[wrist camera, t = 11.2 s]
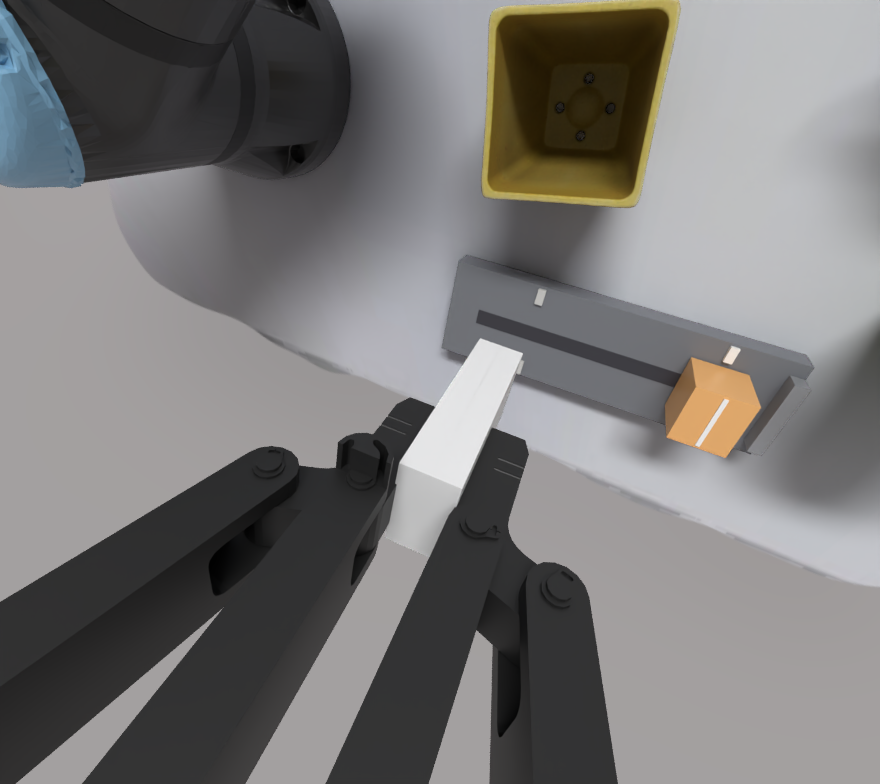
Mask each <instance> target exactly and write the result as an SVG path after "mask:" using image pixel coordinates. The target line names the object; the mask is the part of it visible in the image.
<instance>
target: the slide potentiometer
mask: <svg viewBox="0 0 880 784" xmlns="http://www.w3.org/2000/svg"><path fill="white" fill-rule="evenodd" d="M480 338H481V339H484V340H487V341H489V342H492V343H495V344H498V345H501V346H504V347H506V348H509V349H512V350H515V351H518V352H521V353H523V355H522V358H521V361H520V364H519V367H518V370H517V373H516V374H519V375H522V376H525V377H527V378H530V379H533V380H536V381H539V382H542V383H545V384H548V385H551V386H554V387H557V388H560V389H562V390H565V391H568V392H571V393H574V394H577V395H580V396H583V397H586V398H589V399H592V400H595V401H597V402H600V403H603V404H606V405H609V406H612V407H615V408H618V409H621V410H624V411H627V412H629V413H632V414H635V415H638V416H641V417H644V418H647V419H650V420H653V421H656V422H659V423H662V424H664V425H666V420H665V404H666V402H667V400H668V398H669V396H670V395H671V393H672V391H673V389H674V387H675V386H676V384H677V382H678V380H679V378H680V377H681V375H682V373H683V371H684V369H685V367H686V366H687V364H688V362H689V360H690V358H691V357H693V358H696V359H699V360H702V361H705V362H709V363H712V364H715V365H718V366H722V367H725V368H728V369H731V370H734V371H738V372H741V373H744V374H747V375H749V376H750V379H751V381H752V384H753V387H754V390H755V392H756V395H757V398H758V401H759V403H760V406H761V409H760V410H759V411H758V413H757V414H756V416H755V417H754V418H753V420H752V421H751V423H750V424H749V426H748V427H747V428H746V430H745V431H744V433H743V434H742V436H741V437H740V438H739V440H738V441H737V443H736V444H735V445H734V447H733V448H734V449H737V450H740V451H743V452H746V453H749V454H751V453H753V454H756V455H759V456H762V455H763V453H764V452H765V451H766V449H767V448H768V447H769V445H770V444H771V443H772V441H773V440H774V439H775V438H776V436H777V435H778V434H779V432H780V431H781V430H782V428H783V427H784V426H785V424H786V423H787V422H788V420H789V419H790V418H791V417H792V415H793V414H794V413H795V411H796V410H797V409H798V407H799V406H800V405H801V403H802V402H803V401H804V399H805V398H806V397H807V396H808V394H809V393H810V392H811V389H810V387H809V385H808V384H807V382H806V378H807V377H808V376H809V374H810V373H811V372H812V370H813V369H814V366H813V365H812V363H811V361H810V360H809V358H808V357H807V355H804V354H801V353H797V352H794V351H791V350H787V349H784V348H781V347H777V346H774V345H770V344H767V343H764V342H760V341H757V340H753V339H750V338H747V337H743V336H740V335H736V334H733V333H730V332H726V331H723V330H720V329H716V328H713V327H709V326H706V325H703V324H699V323H696V322H692V321H689V320H686V319H682V318H679V317H675V316H672V315H669V314H665V313H662V312H659V311H655V310H652V309H648V308H645V307H642V306H638V305H635V304H631V303H628V302H625V301H621V300H618V299H614V298H611V297H608V296H604V295H601V294H598V293H594V292H591V291H587V290H584V289H581V288H577V287H574V286H570V285H567V284H564V283H560V282H557V281H554V280H550V279H547V278H543V277H540V276H537V275H533V274H530V273H526V272H523V271H520V270H516V269H513V268H509V267H506V266H503V265H499V264H496V263H493V262H489V261H486V260H482V259H479V258H476V257H472V256H469V255H466V256H464V257H463V258H462V259H461V260H460V261H459V262H458V267H457V272H456V277H455V282H454V288H453V293H452V298H451V303H450V308H449V313H448V318H447V323H446V328H445V334H444V339H443V344H442V348H443V349H446V350H449V351H452V352H455V353H458V354H460V355H463V356H466V357H468V356H469V355H470V353H471V352H472V350H473V349H474V347H475V345H476V344H477V342H478V341H479V339H480Z"/></svg>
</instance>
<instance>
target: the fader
mask: <svg viewBox="0 0 880 784" xmlns="http://www.w3.org/2000/svg"><path fill="white" fill-rule="evenodd" d="M760 409H761V406H760V403H759V401H758V398H757V395H756V392H755V390H754V387H753V384H752V381H751V379H750V376H749V375H747V374H744V373H741V372H738V371H734V370H731V369H728V368H725V367H722V366H718V365H715V364H712V363H709V362H705V361H702V360H699V359H696V358H693V357H691V358H690V360H689V362H688V364H687V366H686V367H685V369H684V371H683V373H682V375H681V377H680V378H679V380H678V382H677V384H676V386H675V387H674V389H673V391H672V393H671V395H670V396H669V398H668V400H667V402H666V404H665V420H666V437H667V438H670V439H672V440H675V441H678V442H681V443H684V444H687V445H690V446H692V447H695V448H698V449H701V450H704V451H707V452H710V453H713V454H715V455H718V456H721V457H724V458H726V457H727V455H728V454H729V453H730V451H731V450H732V448H733V447H734V445H735V444H736V443H737V441H738V440H739V438H740V437H741V436H742V434H743V433H744V431H745V430H746V428H747V427H748V426H749V424H750V423H751V421H752V420H753V418H754V417H755V416H756V414H757V413H758V411H759V410H760Z"/></svg>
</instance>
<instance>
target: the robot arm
mask: <svg viewBox="0 0 880 784" xmlns="http://www.w3.org/2000/svg"><path fill="white" fill-rule="evenodd" d="M349 98H350V71H349V62H348V55H347V50H346V45H345V41H344V37H343V34H342V31H341V28H340V25H339V22H338V20H337V17H336V15H335V13H334V10H333V8H332V6H331V4H330V2H329V0H0V184H1V185H4V186H7V187H15V188H31V187H33V188H34V187H67V188H73V187H78V186H81V184H83V183H85V182H92V181H99V180H106V179H113V178H120V177H127V176H134V175H141V174H148V173H155V172H162V171H169V170H176V169H183V168H190V167H196V166H203V165H211V164H212V165H216V166H219V167H222V168H225V169H229V170H232V171H235V172H238V173H241V174H245V175H248V176H251V177H255V178H259V179H270V180H276V179H284V178H289V177H294V176H298V175H302V174H305V173H307V172H309V171H311V170H313V169H314V168H316V167H317V166H319V165H320V164H321V163H322V162H323V161H324V160H325V159H326V158H327V157H328V156H329V154H330V153H331V152H332V150H333V149H334V147H335V146H336V144H337V142H338V140H339V138H340V136H341V133H342V131H343V128H344V125H345V121H346V117H347V112H348V107H349ZM522 355H523V353H521V352H518V351H515V350H512V349H509V348H506V347H504V346H501V345H498V344H495V343H492V342H489V341H487V340H484V339H481V338H480V339H479V341H478V342H477V344H476V345H475V347H474V349H473V350H472V352H471V353H470V355H469V356H468V358H467V359H466V361H465V362H464V364H463V365H462V367H461V369H460V370H459V372H458V373H457V375H456V376H455V378H454V379H453V381H452V382H451V384H450V385H449V387H448V389H447V390H446V392H445V393H444V395H443V396H442V398H441V399H440V401H439V402H438V404H437V405H436V407H434V406H432V405H429V404H426V403H424V402H421V401H419V400H416V399H413V398H411V397H410V398H408V399H406V400H404V401H402V402H400V403H398V404H397V405H396V406H395V407H394V408H393V410H392V411H391V412H390V414H389V415H388V417H386V419H385V420H384V421H383V423H382V425H381V426H380V427H379V428H378V429H377V430H376V432H375V433H374V434H369V433H355V434H352V435H349V436H346V437H345V438H343V439H342V440H340V441H339V442H338V450H337V462H336V468H329V469H324V468H314V467H306V466H299V463H298V459H297V457H296V456H295V455H294V454H293V453H292V452H291V451H288V450H286V449H284V448H281V447H273V446H269V447H261V448H258V449H256V450H253V451H251V452H249V453H247V454H245V455H244V456H242V457H240V458H239V459H237V460H235V461H234V462H232V463H230V464H229V465H227V466H226V467H224V468H222V469H220V470H219V471H217V472H216V473H214V474H212V475H211V476H209V477H207V478H206V479H204V480H202V481H201V482H199V483H197V484H196V485H194V486H192V487H191V488H189V489H187V490H186V491H184V492H182V493H181V494H179V495H177V496H176V497H174V498H172V499H171V500H169V501H167V502H166V503H164V504H162V505H161V506H159V507H157V508H156V509H154V510H152V511H151V512H149V513H147V514H146V515H144V516H142V517H141V518H139V519H137V520H136V521H134V522H132V523H131V524H129V525H128V526H126V527H124V528H122V529H121V530H119V531H117V532H116V533H114V534H113V535H111V536H109V537H107V538H106V539H104V540H102V541H101V542H99V543H98V544H96V545H94V546H92V547H91V548H89V549H88V550H86V551H84V552H83V553H81V554H79V555H78V556H76V557H74V558H73V559H71V560H69V561H68V562H66V563H64V564H63V565H61V566H60V567H58V568H56V569H54V570H53V571H51V572H49V573H48V574H46V575H44V576H43V577H41V578H39V579H38V580H36V581H34V582H33V583H31V584H29V585H28V586H26V587H24V588H23V589H21V590H19V591H18V592H16V593H14V594H13V595H11V596H9V597H8V598H6V599H4V600H3V601H1V602H0V784H16V783H17V782H18V781H19V780H20V779H21V778H23V777H24V776H25V775H26V774H27V773H29V772H30V771H31V770H32V769H33V768H34V767H36V766H37V765H38V764H39V763H40V762H41V761H43V760H44V759H45V758H46V757H47V756H49V755H50V754H51V753H52V752H53V751H55V749H57V748H58V747H59V746H60V745H62V744H63V743H64V742H65V741H66V740H67V739H69V738H70V737H71V736H72V735H73V734H74V733H76V732H77V731H78V730H79V729H80V728H82V727H83V726H84V725H85V724H86V723H88V722H89V721H90V720H91V719H92V718H94V717H95V716H96V715H97V714H98V713H99V712H100V711H102V710H103V709H104V708H105V707H106V706H108V705H109V704H110V703H111V702H112V701H114V700H115V699H116V698H117V697H118V696H119V695H121V694H122V693H123V692H124V691H125V690H127V689H128V688H129V687H130V686H131V685H132V684H134V683H135V682H136V681H137V680H138V679H139V678H140V677H142V676H143V675H144V674H145V673H146V672H148V671H149V670H150V669H151V668H153V667H154V666H155V665H156V664H157V663H158V662H159V661H161V660H162V659H163V658H164V657H166V656H167V655H168V654H169V653H170V652H171V651H173V650H174V649H175V648H176V647H177V646H179V645H180V644H181V643H182V642H183V641H184V640H186V639H187V638H188V637H189V636H190V635H192V634H193V633H194V632H195V631H196V630H197V629H199V628H200V627H201V626H202V625H203V624H205V623H206V622H207V621H208V620H209V619H210V618H212V617H213V616H214V615H215V614H216V613H217V612H219V611H220V610H221V609H222V608H223V607H224V608H223V609H222V610H221V612H220V613H219V614H218V615H217V617H216V618H215V619H214V620H213V622H212V623H211V624H210V625H209V627H208V628H207V629H206V630H205V631H204V633H203V634H202V635H201V636H200V638H199V639H198V640H197V641H196V643H195V644H194V645H193V646H192V648H191V649H190V650H189V652H188V653H187V654H186V655H185V657H184V658H183V659H182V660H181V661H180V663H179V664H178V665H177V666H176V668H175V669H174V670H173V672H172V673H171V674H170V675H169V676H168V678H167V679H166V680H165V681H164V683H163V684H162V685H161V686H160V688H159V689H158V690H157V691H156V692H155V694H154V695H153V696H152V697H151V699H150V700H149V701H148V702H147V704H146V705H145V706H144V707H143V709H142V710H141V711H140V712H139V714H138V715H137V716H136V717H135V719H134V720H133V721H132V722H131V724H130V725H129V726H128V727H127V729H126V730H125V731H124V732H123V734H122V735H121V736H120V737H119V739H118V740H117V741H116V742H115V744H114V745H113V746H112V747H111V748H110V750H109V751H108V752H107V753H106V755H105V756H104V757H103V759H102V760H101V761H100V762H99V763H98V765H97V766H96V767H95V768H94V770H93V771H92V772H91V773H90V775H89V776H88V777H87V778H86V780H85V781H84V782H83V783H82V784H245V783H246V782H247V780H248V778H249V776H250V774H251V772H252V771H253V769H254V767H255V766H256V764H257V762H258V760H259V759H260V757H261V755H262V753H263V752H264V750H265V748H266V746H267V745H268V743H269V741H270V739H271V738H272V736H273V734H274V732H275V731H276V729H277V727H278V725H279V723H280V722H281V720H282V718H283V716H284V715H285V713H286V711H287V709H288V708H289V706H290V704H291V702H292V700H293V699H294V697H295V695H296V693H297V692H298V690H299V688H300V687H301V685H302V683H303V681H304V680H305V678H306V676H307V674H308V672H309V671H310V669H311V667H312V665H313V664H314V662H315V660H316V658H317V657H318V655H319V653H320V651H321V650H322V648H323V646H324V644H325V643H326V641H327V639H328V637H329V636H330V634H331V632H332V630H333V628H334V627H335V625H336V623H337V621H338V620H339V618H340V616H341V614H342V612H343V611H344V609H345V607H346V605H347V604H348V602H349V600H350V598H351V597H352V595H353V593H354V592H355V589H356V588H357V586H358V584H359V583H360V581H361V579H362V577H363V576H364V574H365V572H366V570H367V569H368V567H369V565H370V563H371V562H372V560H373V558H374V556H375V554H376V550H377V546H378V541H379V539H380V538H381V536H382V534H383V533H384V531H385V529H386V533H385V538H387V539H389V540H391V541H393V542H395V543H398V544H400V545H402V546H404V547H407V548H409V549H411V550H414V551H416V552H418V553H420V554H422V555H425V556H427V557H429V559H428V561H427V564H426V566H425V568H424V570H423V572H422V575H421V577H420V579H419V581H418V583H417V585H416V588H415V590H414V592H413V594H412V597H411V599H410V601H409V603H408V605H407V607H406V609H405V612H404V614H403V616H402V618H401V621H400V623H399V625H398V627H397V629H396V631H395V634H394V636H393V638H392V640H391V642H390V644H389V647H388V649H387V651H386V653H385V655H384V658H383V660H382V662H381V664H380V666H379V668H378V671H377V673H376V675H375V677H374V679H373V681H372V684H371V686H370V688H369V690H368V693H367V695H366V697H365V699H364V701H363V703H362V706H361V708H360V710H359V712H358V714H357V717H356V719H355V721H354V723H353V725H352V728H351V730H350V732H349V734H348V736H347V738H346V741H345V743H344V745H343V747H342V749H341V751H340V754H339V756H338V758H337V760H336V763H335V765H334V767H333V769H332V771H331V773H330V775H329V778H328V780H327V782H326V784H429V780H430V777H431V774H432V770H433V767H434V764H435V761H436V758H437V754H438V751H439V748H440V745H441V742H442V738H443V735H444V732H445V728H446V726H447V722H448V719H449V716H450V713H451V709H452V706H453V703H454V700H455V696H456V693H457V690H458V687H459V684H460V680H461V677H462V674H463V671H464V667H465V664H466V661H467V658H468V654H469V651H470V648H471V645H472V642H473V638H474V635H475V632H476V630H477V631H479V633H481V634H482V635H483V636H484V637H485V638H486V639H487V640H488V641H489V642H490V643H491V644H493V657H492V701H491V745H490V746H491V747H490V784H618V782H617V775H616V769H615V763H614V756H613V749H612V743H611V736H610V730H609V723H608V717H607V711H606V704H605V697H604V691H603V684H602V678H601V671H600V665H599V658H598V652H597V645H596V639H595V633H594V626H593V619H592V614H591V606H590V600H589V596H588V593H587V590H586V587H585V585H584V584H583V583H582V581H581V580H580V579H579V577H578V576H577V575H576V574H574V573H573V572H572V571H571V570H569V569H568V568H567V567H565V566H562V565H559V564H556V563H550V562H549V563H548V562H543V563H541V564H538V565H537V564H536V563H535V562H533V561H532V560H531V559H529V558H528V557H527V556H525V555H524V554H523V553H522V552H521V551H520V550H519V549H518V548H517V547H516V545H515V544H514V543H513V541H512V539H511V537H510V534H509V530H508V521H509V516H510V513H511V510H512V506H513V503H514V500H515V497H516V493H517V490H518V487H519V484H520V480H521V477H522V474H523V471H524V468H525V465H526V461H527V458H528V455H529V454H528V449H527V445H526V441H525V440H523V439H521V438H518V437H516V436H513V435H510V434H508V433H505V432H502V431H500V430H497V429H496V427H497V425H498V423H499V420H500V418H501V416H502V413H503V410H504V407H505V404H506V401H507V398H508V396H509V393H510V390H511V387H512V384H513V381H514V378H515V375H516V373H517V370H518V367H519V364H520V361H521V358H522ZM386 527H387V528H386Z"/></svg>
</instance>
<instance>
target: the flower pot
mask: <svg viewBox="0 0 880 784" xmlns="http://www.w3.org/2000/svg"><path fill="white" fill-rule="evenodd" d="M680 10H681V8H680V3H679V0H618V1H602V2H585V3H567V4H546V5H516V6H505V7H499V8H497V9H495V10H494V11H493V12H492V13H491V15H490V20H489V35H488V72H487V103H486V121H485V136H484V150H483V165H482V177H481V188H482V194H483V196H484V197H486V198H491V199H506V200H521V201H538V202H552V203H564V204H579V205H591V206H604V207H616V208H631V207H634V206H635V205H636V204H637V203H638V201H639V199H640V196H641V191H642V186H643V181H644V176H645V171H646V166H647V161H648V156H649V152H650V147H651V142H652V138H653V133H654V129H655V124H656V120H657V115H658V111H659V106H660V101H661V97H662V92H663V88H664V83H665V79H666V74H667V70H668V66H669V62H670V58H671V54H672V49H673V45H674V41H675V36H676V32H677V27H678V22H679V16H680ZM587 74H593V76H594V80H593V81H592V83H590V84H587V83H585V76H586V75H587ZM559 103H563V104H564V107H565V108H564V110H563V112H560V113H559V112H557V111H556V106H557V104H559ZM610 103H612V104H614V105H615V110H614V112H613V113H607V112H606V107H607V105H608V104H610ZM580 131H583V132H584V133H585V138H584V139H583V140H581V141H580V140H578V139H577V138H576V135H577V133H578V132H580Z"/></svg>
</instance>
